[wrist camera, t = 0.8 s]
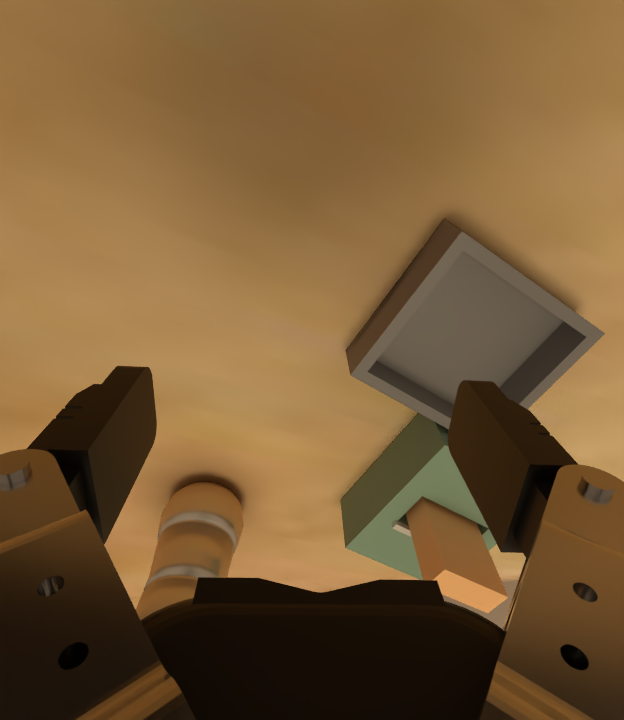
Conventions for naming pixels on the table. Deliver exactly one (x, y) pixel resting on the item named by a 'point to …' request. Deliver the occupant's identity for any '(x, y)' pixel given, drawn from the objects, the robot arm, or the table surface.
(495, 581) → the tan wooden plank
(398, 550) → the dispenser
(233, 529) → the plastic bottle
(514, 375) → the tray
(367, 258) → the table surface
